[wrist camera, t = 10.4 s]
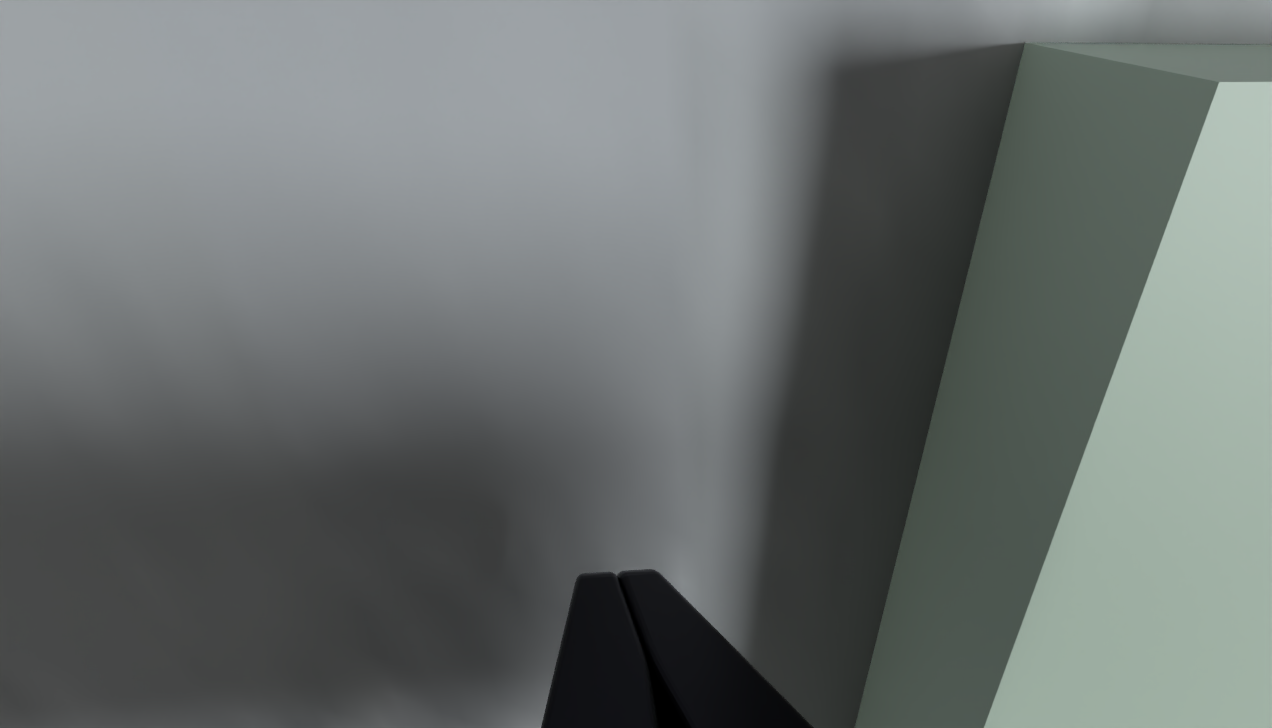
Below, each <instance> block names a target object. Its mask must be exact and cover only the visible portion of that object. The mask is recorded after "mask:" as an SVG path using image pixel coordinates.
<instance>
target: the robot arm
mask: <svg viewBox="0 0 1272 728" xmlns="http://www.w3.org/2000/svg"><path fill="white" fill-rule="evenodd" d="M541 728H814V727H813V726H812V725H811V724H810V723H809V722H808V721H807V720H806V719H805V718H804V717H803V716H802V715H801V714H800V713H799V712H798V711H797V710H796V709H795V708H794V707H793V706H792V705H791V704H790V703H789V702H788V701H787V700H786V699H785V698H784V697H783V696H782V695H781V694H780V693H779V692H778V691H777V690H776V689H775V688H774V687H773V686H772V685H771V684H770V683H769V682H768V681H767V680H766V679H765V678H764V677H763V676H762V675H761V674H760V673H759V672H758V671H757V670H756V669H755V668H754V667H753V666H752V665H751V664H750V663H749V662H748V661H747V660H746V659H745V658H744V657H743V656H742V655H741V654H740V653H739V652H738V651H737V650H736V649H735V648H734V647H733V646H732V645H731V644H730V643H729V642H728V641H727V640H726V639H725V638H724V637H723V636H722V635H721V634H720V633H719V632H718V631H717V630H716V629H715V628H714V627H713V626H712V625H711V624H710V623H709V622H708V621H707V620H706V619H705V618H704V617H703V616H702V615H701V614H700V613H699V612H698V611H697V610H696V609H695V608H694V607H693V606H692V605H691V604H690V603H689V602H688V601H687V600H686V599H685V598H684V597H683V596H682V595H681V594H680V593H679V592H678V591H677V590H676V589H675V588H674V587H673V586H672V585H671V584H670V583H669V582H668V581H667V580H666V579H665V578H664V577H663V576H662V575H661V574H660V573H659V572H657V571H655V570H652V569H645V570H629V571H622V572H620V573H619V574H618V575H616V574H614V573H613V572H599V573H584V574H580V575H579V576H578V577H577V579H576V582H575V586H574V590H573V595H572V599H571V603H570V607H569V612H568V616H567V620H566V624H565V628H564V633H563V637H562V641H561V645H560V650H559V654H558V658H557V662H556V667H555V671H554V675H553V679H552V683H551V688H550V692H549V696H548V700H547V705H546V709H545V713H544V717H543V721H542V726H541Z"/></svg>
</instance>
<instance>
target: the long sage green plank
mask: <svg viewBox="0 0 1272 728" xmlns="http://www.w3.org/2000/svg"><path fill="white" fill-rule="evenodd" d="M855 728H1272V45H1267V44H1138V43H1025V45H1024V49H1023V53H1022V57H1021V61H1020V65H1019V69H1018V73H1017V77H1016V81H1015V85H1014V89H1013V93H1012V97H1011V101H1010V105H1009V109H1008V113H1007V117H1006V121H1005V125H1004V129H1003V133H1002V137H1001V141H1000V145H999V149H998V153H997V157H996V161H995V165H994V169H993V173H992V177H991V181H990V185H989V190H988V194H987V198H986V202H985V206H984V210H983V214H982V218H981V222H980V226H979V230H978V234H977V238H976V242H975V246H974V250H973V254H972V258H971V262H970V266H969V270H968V274H967V278H966V282H965V286H964V290H963V294H962V298H961V302H960V306H959V310H958V314H957V318H956V322H955V326H954V330H953V334H952V338H951V342H950V346H949V350H948V354H947V358H946V362H945V366H944V371H943V375H942V379H941V383H940V387H939V391H938V395H937V399H936V403H935V407H934V411H933V415H932V419H931V423H930V427H929V431H928V435H927V439H926V443H925V447H924V451H923V455H922V459H921V463H920V467H919V471H918V475H917V479H916V483H915V487H914V491H913V495H912V499H911V503H910V507H909V511H908V515H907V519H906V523H905V527H904V531H903V535H902V539H901V543H900V547H899V551H898V556H897V560H896V564H895V568H894V572H893V576H892V580H891V584H890V588H889V592H888V596H887V600H886V604H885V608H884V612H883V616H882V620H881V624H880V628H879V632H878V636H877V640H876V644H875V648H874V652H873V656H872V660H871V664H870V668H869V672H868V676H867V680H866V684H865V688H864V692H863V696H862V700H861V704H860V708H859V712H858V716H857V720H856V724H855Z"/></svg>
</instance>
